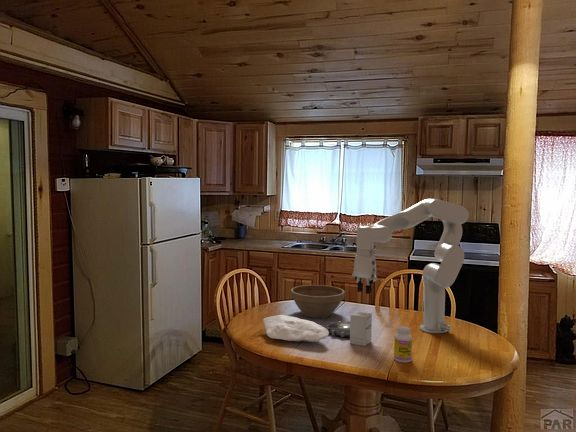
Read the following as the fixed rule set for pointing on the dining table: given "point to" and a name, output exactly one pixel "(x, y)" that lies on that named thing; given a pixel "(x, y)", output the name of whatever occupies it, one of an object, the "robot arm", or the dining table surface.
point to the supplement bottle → (403, 345)
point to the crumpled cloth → (294, 329)
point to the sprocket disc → (339, 328)
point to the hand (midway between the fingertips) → (364, 292)
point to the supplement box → (360, 328)
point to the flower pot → (317, 299)
